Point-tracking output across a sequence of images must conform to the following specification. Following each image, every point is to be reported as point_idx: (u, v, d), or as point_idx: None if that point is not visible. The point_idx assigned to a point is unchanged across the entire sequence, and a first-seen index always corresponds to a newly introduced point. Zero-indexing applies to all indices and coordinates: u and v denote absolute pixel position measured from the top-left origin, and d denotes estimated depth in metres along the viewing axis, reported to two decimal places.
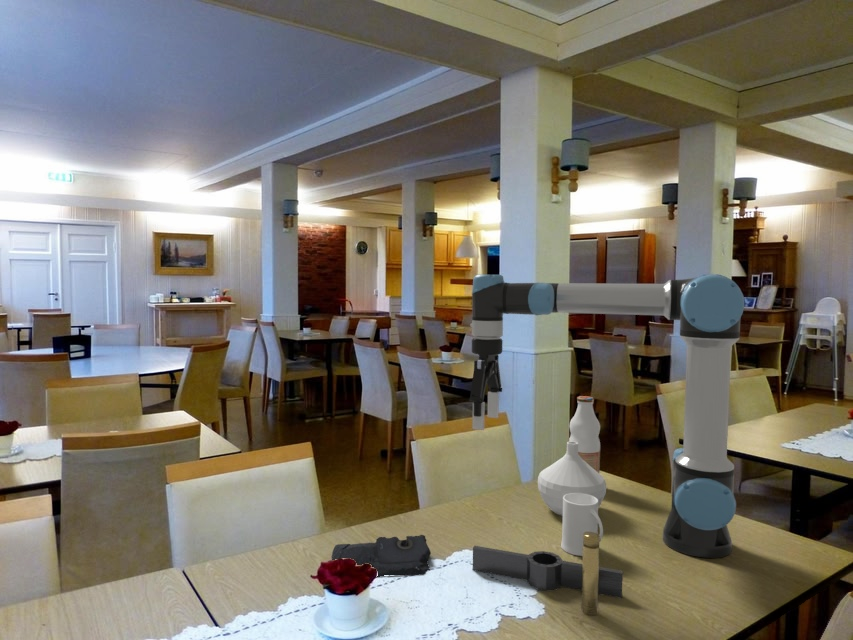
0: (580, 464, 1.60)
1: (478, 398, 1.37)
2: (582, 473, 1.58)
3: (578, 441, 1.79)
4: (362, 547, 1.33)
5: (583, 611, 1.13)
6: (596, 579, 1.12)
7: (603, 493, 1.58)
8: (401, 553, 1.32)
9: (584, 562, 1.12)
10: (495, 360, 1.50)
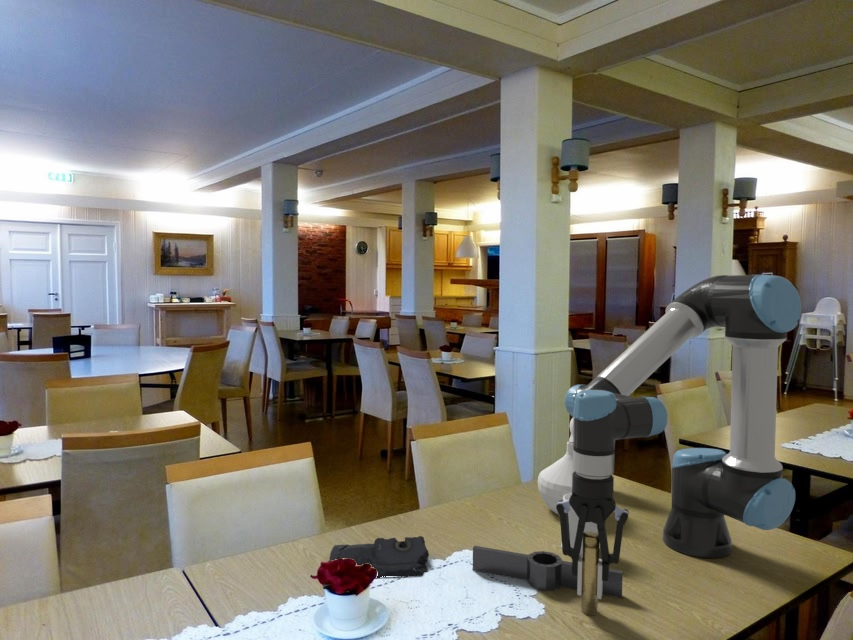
0: None
1: None
2: None
3: None
4: (360, 548, 1.33)
5: (583, 611, 1.13)
6: (596, 579, 1.12)
7: None
8: (399, 555, 1.31)
9: (584, 562, 1.12)
10: (618, 516, 1.10)
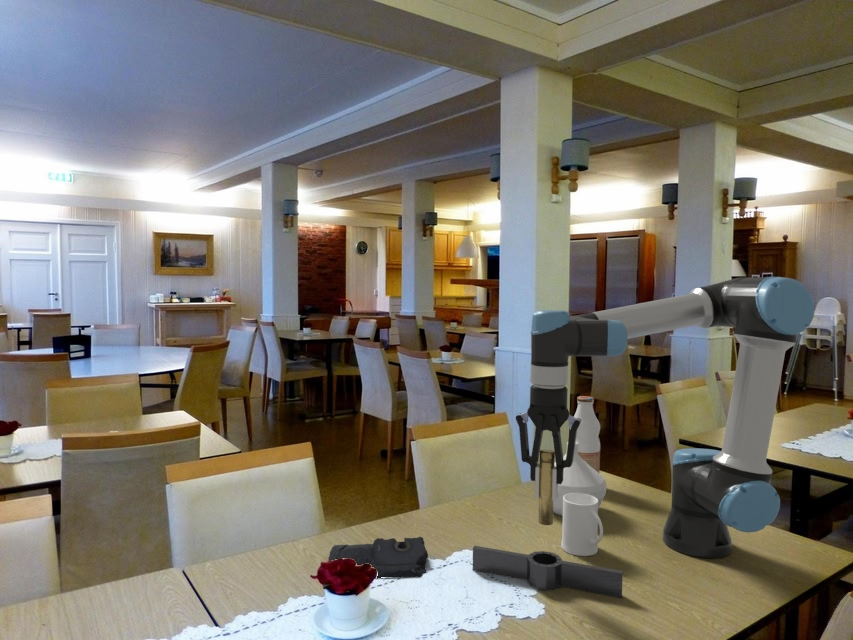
0: (580, 464, 1.60)
1: (522, 457, 1.24)
2: (582, 473, 1.58)
3: (578, 441, 1.79)
4: (359, 548, 1.32)
5: (540, 521, 1.23)
6: (551, 491, 1.22)
7: (603, 493, 1.58)
8: (398, 555, 1.31)
9: (541, 476, 1.22)
10: (571, 423, 1.20)
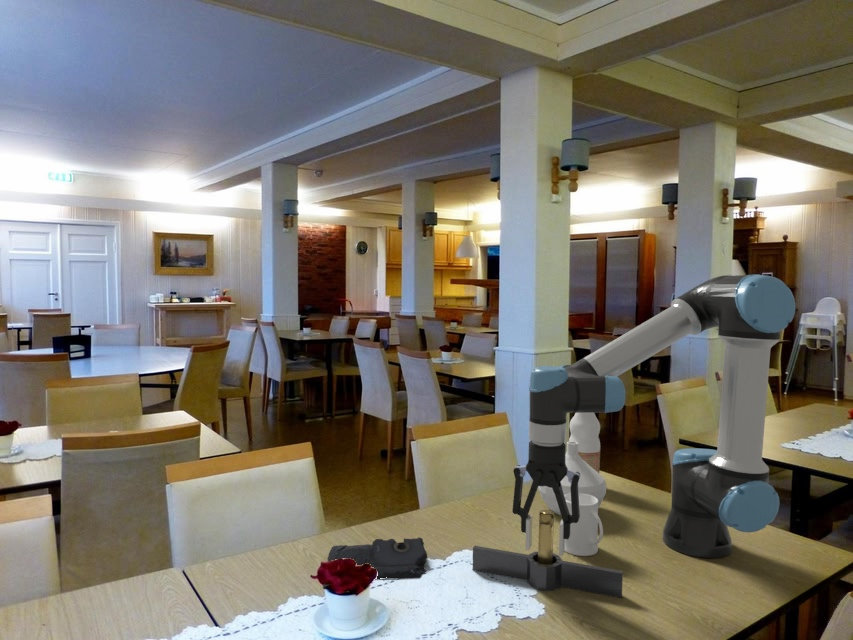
0: (580, 464, 1.60)
1: (513, 509, 1.25)
2: (582, 473, 1.58)
3: (578, 441, 1.79)
4: (358, 549, 1.32)
5: None
6: (550, 552, 1.23)
7: (603, 493, 1.58)
8: (398, 556, 1.30)
9: (540, 537, 1.23)
10: (570, 479, 1.21)
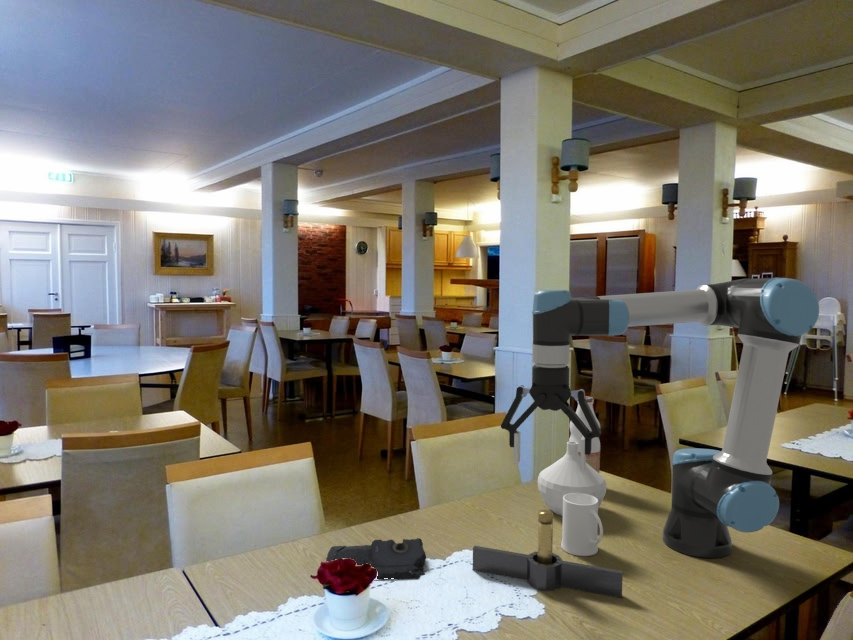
0: None
1: (501, 424, 1.26)
2: (582, 473, 1.58)
3: (578, 441, 1.79)
4: (357, 549, 1.32)
5: None
6: (550, 552, 1.23)
7: (603, 493, 1.58)
8: (396, 557, 1.30)
9: (539, 537, 1.23)
10: (576, 397, 1.20)
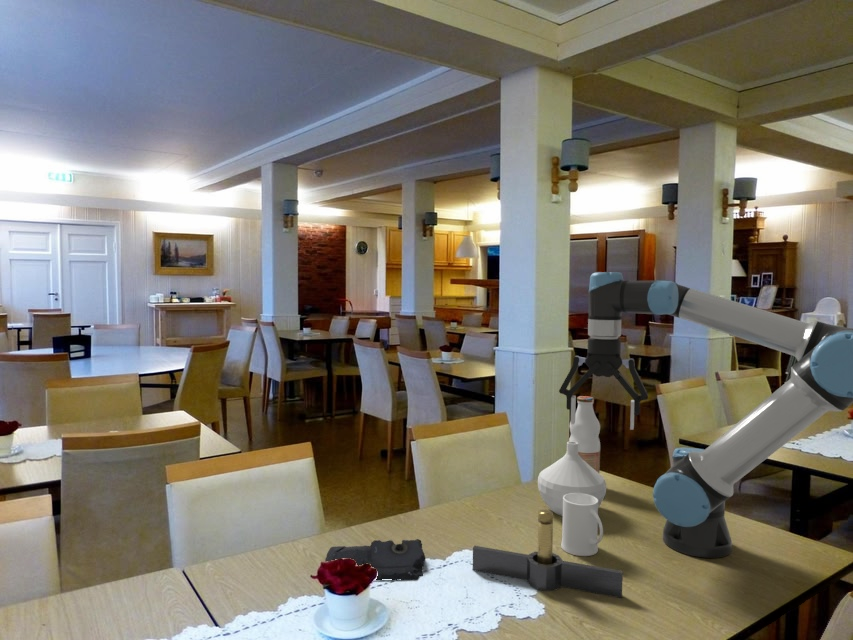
0: (580, 464, 1.60)
1: (559, 390, 1.44)
2: (582, 473, 1.58)
3: (578, 441, 1.79)
4: (356, 550, 1.31)
5: None
6: (550, 552, 1.23)
7: (603, 493, 1.58)
8: (395, 558, 1.30)
9: (539, 537, 1.23)
10: (627, 365, 1.38)
